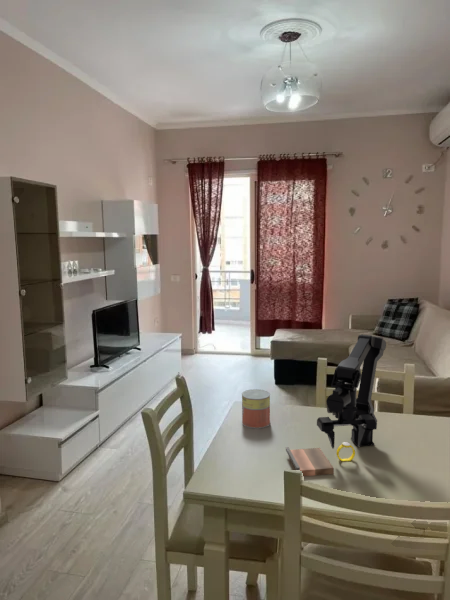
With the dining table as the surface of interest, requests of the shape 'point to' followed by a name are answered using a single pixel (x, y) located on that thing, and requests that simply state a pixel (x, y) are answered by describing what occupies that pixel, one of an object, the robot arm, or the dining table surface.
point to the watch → (346, 447)
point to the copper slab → (310, 461)
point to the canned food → (256, 408)
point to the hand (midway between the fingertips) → (346, 447)
